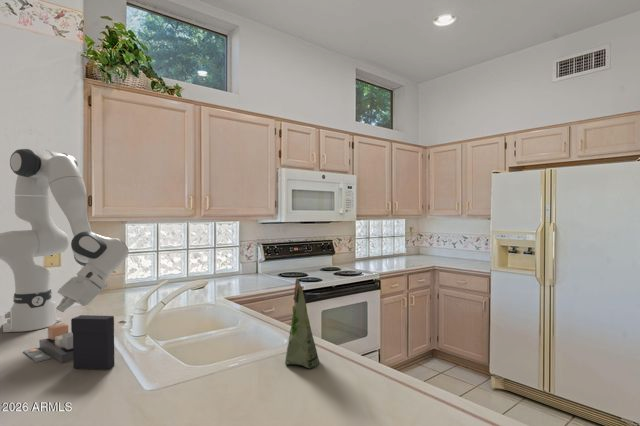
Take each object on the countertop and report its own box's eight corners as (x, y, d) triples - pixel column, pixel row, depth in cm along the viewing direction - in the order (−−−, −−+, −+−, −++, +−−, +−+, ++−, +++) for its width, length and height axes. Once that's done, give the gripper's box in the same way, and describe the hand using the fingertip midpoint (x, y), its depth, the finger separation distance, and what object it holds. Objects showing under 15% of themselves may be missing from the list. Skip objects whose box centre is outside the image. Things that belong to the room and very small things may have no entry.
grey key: (62, 346, 116) (62, 334, 116) (78, 342, 120) (78, 330, 120) (67, 349, 114) (67, 337, 114) (84, 345, 117) (84, 333, 117)
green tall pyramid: (302, 374, 102) (301, 285, 102) (273, 363, 110) (272, 280, 109) (327, 362, 110) (326, 279, 110) (298, 352, 118) (298, 275, 118)
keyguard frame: (39, 347, 124) (39, 340, 124) (68, 340, 131) (68, 333, 131) (61, 363, 111) (61, 354, 111) (93, 354, 118) (93, 346, 118)
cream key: (55, 348, 121) (54, 336, 121) (71, 344, 124) (70, 333, 124) (59, 351, 118) (59, 339, 118) (76, 347, 122) (75, 335, 122)
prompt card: (23, 352, 120) (23, 350, 120) (36, 348, 123) (36, 346, 123) (36, 362, 112) (36, 360, 112) (50, 358, 115) (50, 356, 115)
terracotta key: (47, 337, 125) (47, 326, 125) (63, 333, 129) (63, 322, 129) (52, 340, 122) (52, 328, 122) (68, 336, 126) (68, 325, 126)
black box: (116, 364, 110) (115, 315, 110) (106, 371, 105) (106, 319, 105) (82, 363, 111) (81, 314, 111) (71, 369, 106) (70, 318, 106)
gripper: (73, 269, 136) (41, 300, 128) (95, 275, 123) (61, 310, 116) (86, 279, 140) (56, 310, 132) (109, 286, 127) (77, 321, 119)
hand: (58, 310), depth 124 cm, fingers closed
